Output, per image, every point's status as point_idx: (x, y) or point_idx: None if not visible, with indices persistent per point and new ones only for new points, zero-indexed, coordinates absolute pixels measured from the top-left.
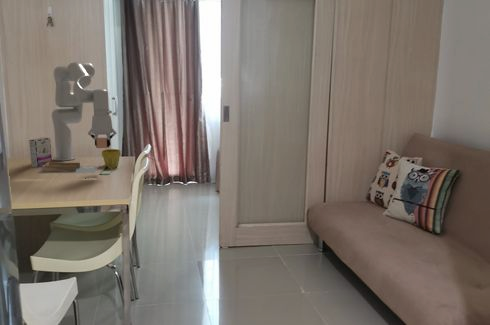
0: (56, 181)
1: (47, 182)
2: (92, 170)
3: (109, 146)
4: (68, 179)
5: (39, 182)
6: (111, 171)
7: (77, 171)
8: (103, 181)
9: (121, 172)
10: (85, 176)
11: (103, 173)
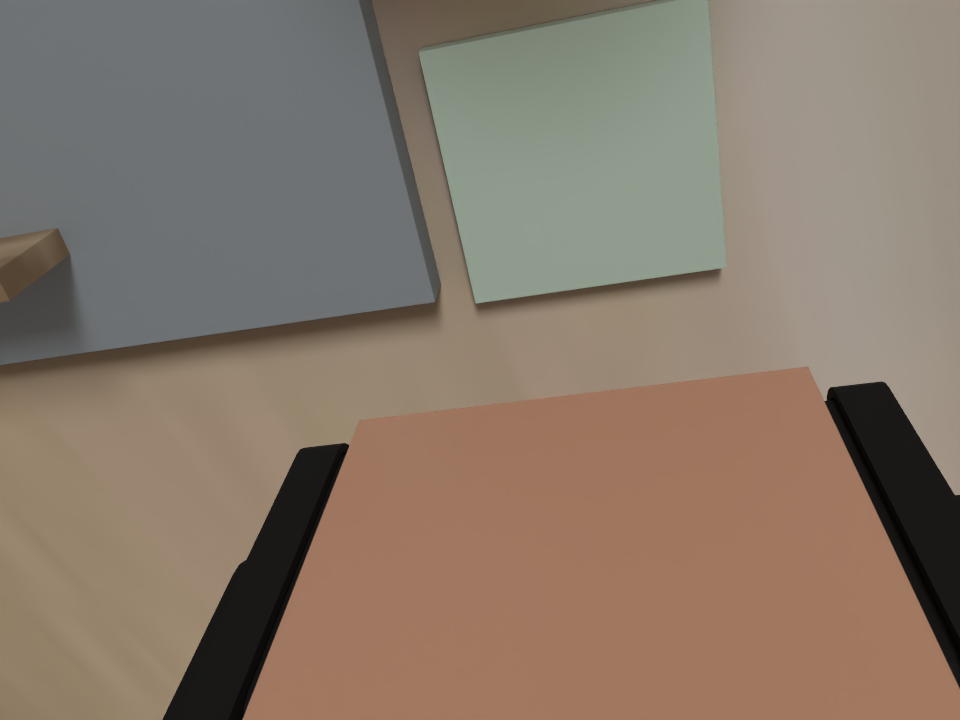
0: (160, 662)
1: (98, 698)
2: (320, 137)
3: (879, 387)
4: None
5: (17, 699)
6: (709, 27)
7: (99, 256)
8: None
9: (943, 20)
10: (360, 415)
11: (607, 276)
